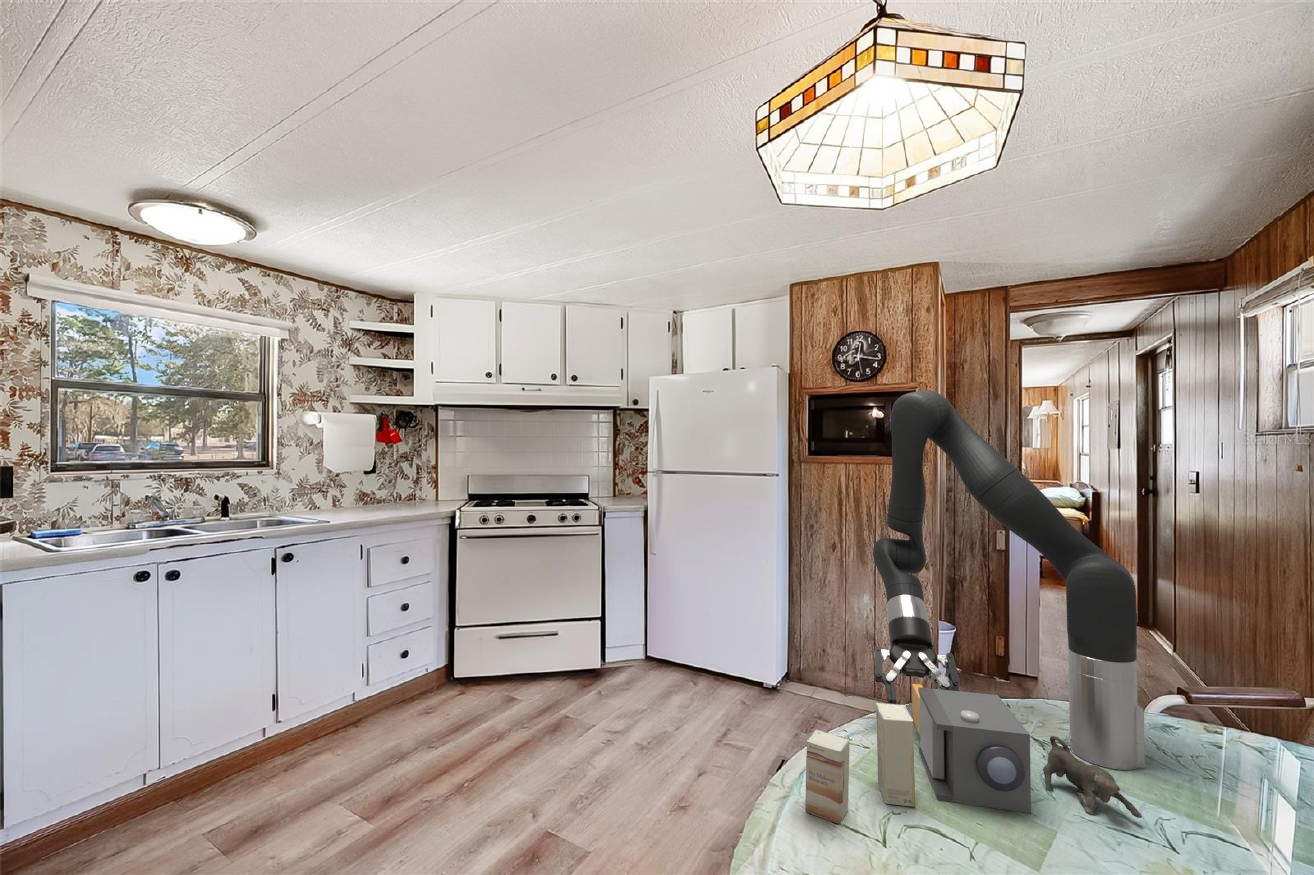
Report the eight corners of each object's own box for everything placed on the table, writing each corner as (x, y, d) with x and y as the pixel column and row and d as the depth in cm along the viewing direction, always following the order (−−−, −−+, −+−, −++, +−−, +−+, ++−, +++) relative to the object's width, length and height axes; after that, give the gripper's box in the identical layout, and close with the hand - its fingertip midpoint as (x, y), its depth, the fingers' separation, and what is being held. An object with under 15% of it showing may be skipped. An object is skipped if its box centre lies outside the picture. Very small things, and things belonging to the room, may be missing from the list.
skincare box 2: (916, 808, 82) (915, 722, 83) (883, 804, 83) (882, 719, 83) (906, 784, 88) (905, 704, 89) (875, 780, 89) (875, 701, 90)
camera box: (998, 762, 95) (997, 690, 95) (1034, 818, 80) (1033, 733, 80) (918, 752, 98) (918, 682, 98) (939, 804, 83) (938, 722, 83)
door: (921, 728, 104) (921, 679, 104) (944, 779, 88) (943, 721, 88) (912, 727, 105) (912, 678, 105) (932, 777, 88) (932, 719, 88)
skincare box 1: (804, 812, 81) (804, 740, 81) (814, 797, 85) (814, 728, 85) (841, 826, 78) (841, 751, 78) (850, 810, 82) (850, 738, 82)
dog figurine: (1035, 783, 89) (1034, 734, 89) (1066, 779, 90) (1065, 731, 91) (1110, 832, 77) (1108, 775, 78) (1144, 827, 78) (1143, 771, 79)
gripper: (871, 611, 112) (878, 694, 101) (951, 617, 109) (968, 704, 97) (868, 631, 117) (875, 712, 106) (944, 637, 114) (960, 722, 102)
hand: (919, 708), depth 101 cm, fingers open, 8 cm apart
